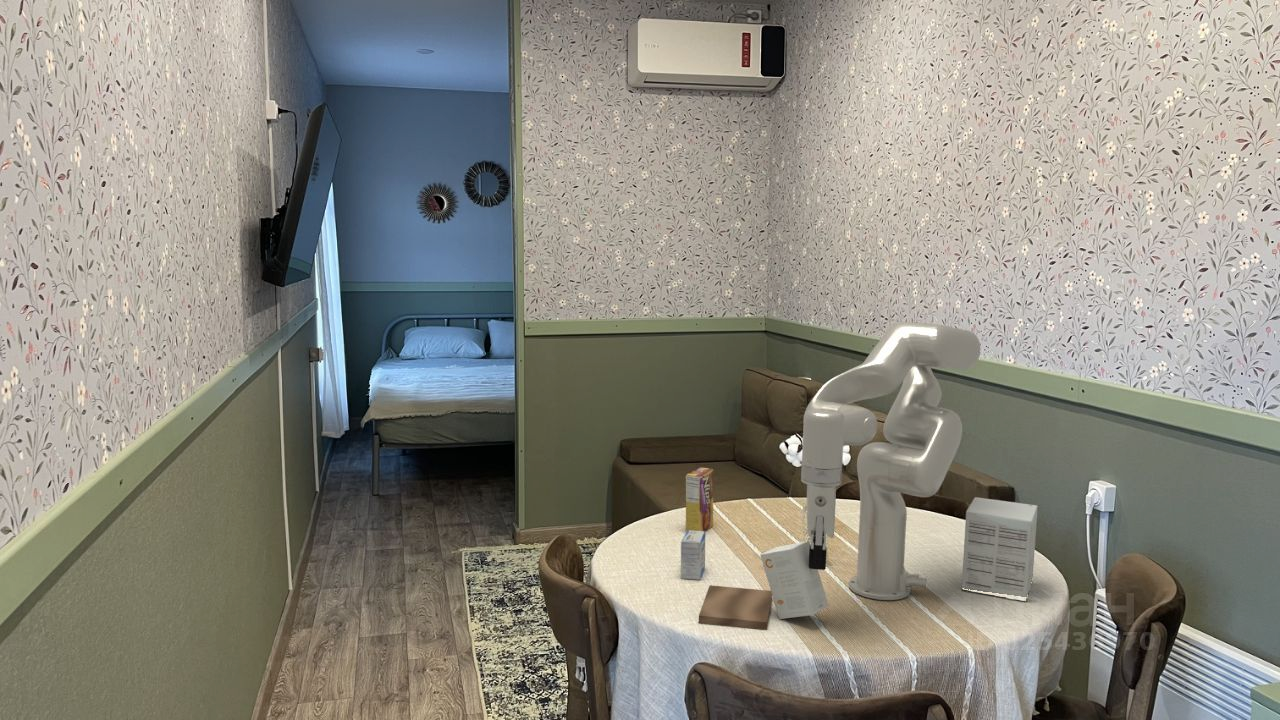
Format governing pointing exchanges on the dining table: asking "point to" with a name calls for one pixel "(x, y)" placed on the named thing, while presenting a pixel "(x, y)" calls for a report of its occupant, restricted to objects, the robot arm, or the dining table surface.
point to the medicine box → (693, 555)
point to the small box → (793, 581)
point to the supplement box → (999, 547)
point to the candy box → (699, 500)
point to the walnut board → (736, 607)
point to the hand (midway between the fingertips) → (817, 567)
